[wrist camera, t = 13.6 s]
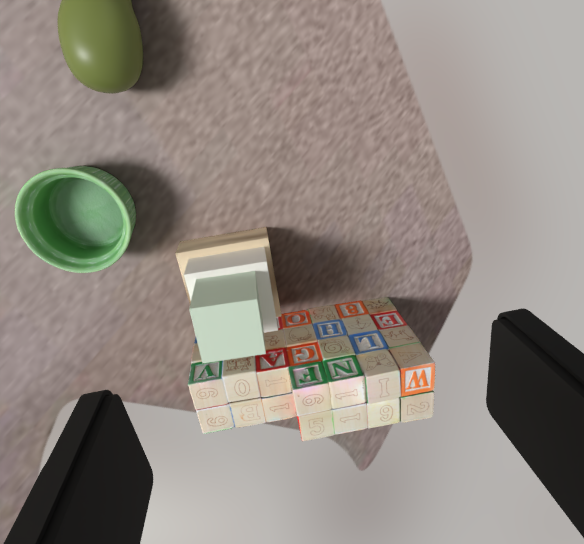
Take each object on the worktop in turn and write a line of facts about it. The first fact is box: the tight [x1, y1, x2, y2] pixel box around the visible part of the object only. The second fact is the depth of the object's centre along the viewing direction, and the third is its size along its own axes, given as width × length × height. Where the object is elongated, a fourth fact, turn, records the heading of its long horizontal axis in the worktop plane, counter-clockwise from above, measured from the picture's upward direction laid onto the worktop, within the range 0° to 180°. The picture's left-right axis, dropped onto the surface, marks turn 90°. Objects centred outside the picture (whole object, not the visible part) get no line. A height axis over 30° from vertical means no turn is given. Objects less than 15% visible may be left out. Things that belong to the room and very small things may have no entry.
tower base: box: [176, 227, 282, 317], centre depth 40 cm, size 8×8×4 cm
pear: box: [58, 0, 143, 93], centre depth 30 cm, size 6×5×10 cm
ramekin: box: [15, 166, 136, 273], centre depth 35 cm, size 9×9×4 cm
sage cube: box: [189, 271, 266, 363], centre depth 33 cm, size 5×5×5 cm
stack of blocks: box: [188, 297, 435, 441], centre depth 40 cm, size 21×6×12 cm, turn 97°
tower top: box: [184, 247, 278, 333], centre depth 37 cm, size 7×7×4 cm
